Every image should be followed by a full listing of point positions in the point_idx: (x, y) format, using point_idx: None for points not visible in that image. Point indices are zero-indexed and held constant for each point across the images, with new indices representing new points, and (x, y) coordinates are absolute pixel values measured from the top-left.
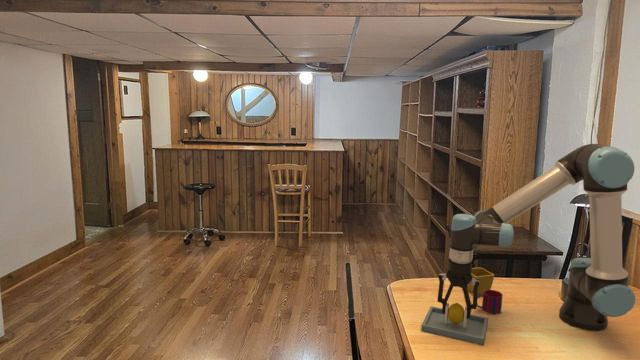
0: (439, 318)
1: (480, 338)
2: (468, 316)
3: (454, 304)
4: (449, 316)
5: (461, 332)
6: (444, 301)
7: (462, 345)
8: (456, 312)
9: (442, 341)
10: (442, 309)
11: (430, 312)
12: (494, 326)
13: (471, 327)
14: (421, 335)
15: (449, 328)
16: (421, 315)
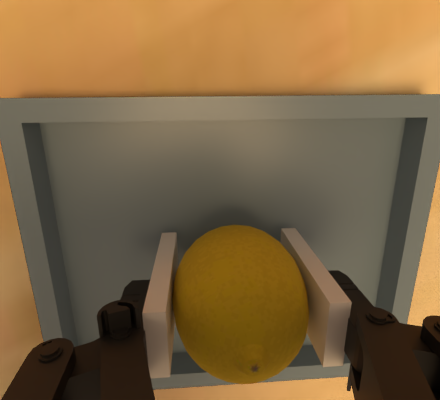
0: None
1: (18, 98)
2: (137, 289)
3: (275, 345)
4: (281, 245)
5: (178, 182)
6: (391, 334)
7: (143, 29)
8: (235, 263)
9: (276, 19)
10: (354, 285)
11: (395, 300)
12: (27, 354)
13: (134, 272)
14: (416, 36)
15: (256, 197)
16: (422, 285)
